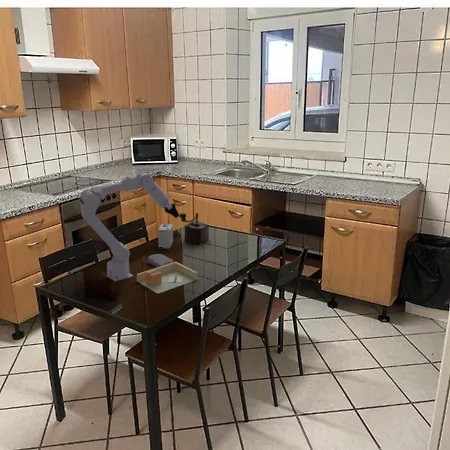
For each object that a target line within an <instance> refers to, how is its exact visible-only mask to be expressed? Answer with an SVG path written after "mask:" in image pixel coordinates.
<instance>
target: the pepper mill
mask: <svg viewBox="0 0 450 450" xmlns="http://www.w3.org/2000/svg"><path fill="white" fill-rule="evenodd" d="M178 217H179V218H180V219H181V220H180V222H184V223H188V224H186V225H184V239H183V240H184V242H186V243H189V244H193V245H196V246H197V245H198V246H200V245H202V244H204V243H206V242H208V241H209V239H210V238H209V233H210V232H209V231H210V230H209V229H210V224H209V223H208V224H207V223H202V222H200V221H199V218H198V217H199V213H197V212H196V213H195V217H194V218H192V219H190V220H187V218H186V217H187V214H186V213H185V212H181V213H180V214H179V216H178Z"/></svg>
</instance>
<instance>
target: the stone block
mask: <svg viewBox="0 0 450 450" xmlns="http://www.w3.org/2000/svg"><path fill="white" fill-rule="evenodd" d="M173 262H174V260H173V259H172V258H171V257H167V256H166V255H163V254H161V253H156V254H152V255H149V256H148V257H147V264H150V265H153V267H155V268H158V267H161V266H164V265H167V264H170V263H173Z"/></svg>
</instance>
